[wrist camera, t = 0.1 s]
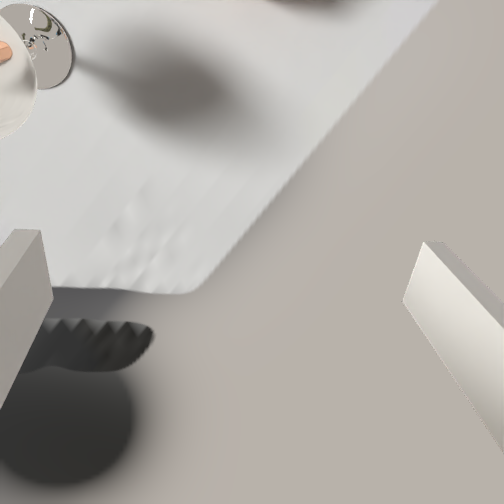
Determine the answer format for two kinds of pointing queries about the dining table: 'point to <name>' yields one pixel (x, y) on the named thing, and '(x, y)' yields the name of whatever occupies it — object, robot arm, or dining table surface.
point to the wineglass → (28, 61)
